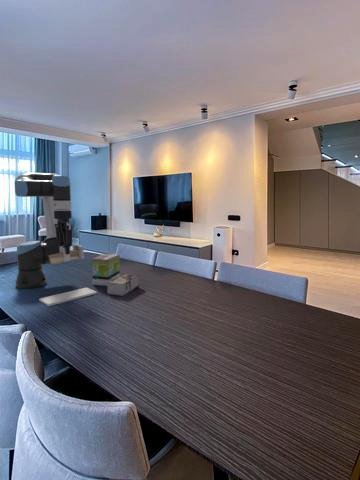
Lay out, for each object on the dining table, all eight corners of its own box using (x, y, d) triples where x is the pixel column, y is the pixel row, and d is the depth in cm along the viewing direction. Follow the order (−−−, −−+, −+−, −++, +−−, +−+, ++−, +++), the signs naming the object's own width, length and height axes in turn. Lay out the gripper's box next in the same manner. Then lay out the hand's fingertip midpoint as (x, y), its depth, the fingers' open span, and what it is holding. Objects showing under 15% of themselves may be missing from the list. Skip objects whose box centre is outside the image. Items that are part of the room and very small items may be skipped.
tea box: (109, 286, 163) (108, 259, 160) (92, 285, 165) (91, 258, 162) (120, 278, 177) (119, 253, 175) (104, 277, 179) (103, 253, 177)
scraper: (47, 263, 140) (45, 250, 139) (76, 255, 150) (74, 243, 148) (55, 266, 134) (53, 253, 133) (84, 258, 144) (82, 246, 143)
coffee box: (122, 296, 146) (139, 287, 161) (122, 283, 145) (139, 275, 160) (107, 294, 150) (125, 285, 164) (106, 281, 149) (124, 273, 163)
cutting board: (39, 300, 140) (39, 298, 140) (86, 289, 157) (86, 287, 157) (48, 306, 133) (48, 304, 133) (96, 293, 150) (96, 291, 150)
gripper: (46, 209, 141) (49, 258, 144) (62, 211, 130) (65, 264, 133) (62, 209, 146) (65, 256, 150) (78, 210, 135) (81, 261, 139)
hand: (65, 260), depth 142 cm, fingers closed on scraper, 3 cm apart
